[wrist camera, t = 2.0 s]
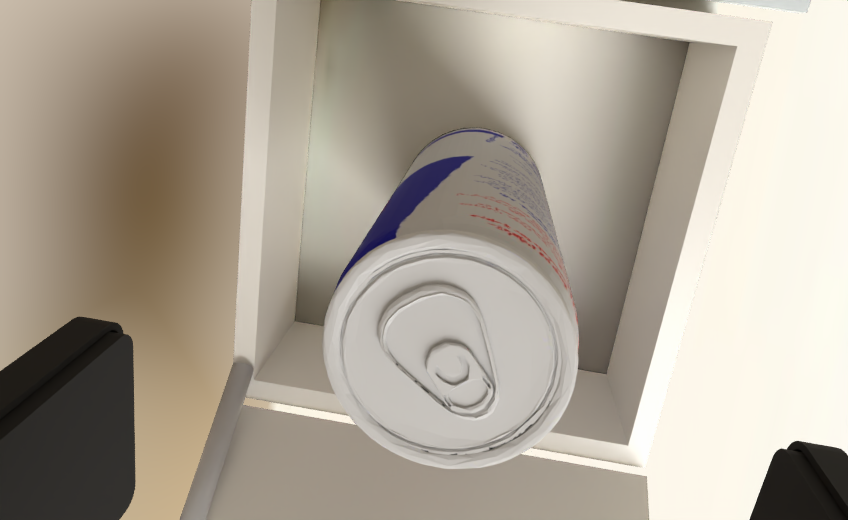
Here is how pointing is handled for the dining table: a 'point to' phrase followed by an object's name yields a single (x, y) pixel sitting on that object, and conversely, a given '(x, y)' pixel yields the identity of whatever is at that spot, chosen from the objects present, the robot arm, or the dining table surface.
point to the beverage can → (457, 310)
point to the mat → (773, 4)
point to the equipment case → (594, 392)
